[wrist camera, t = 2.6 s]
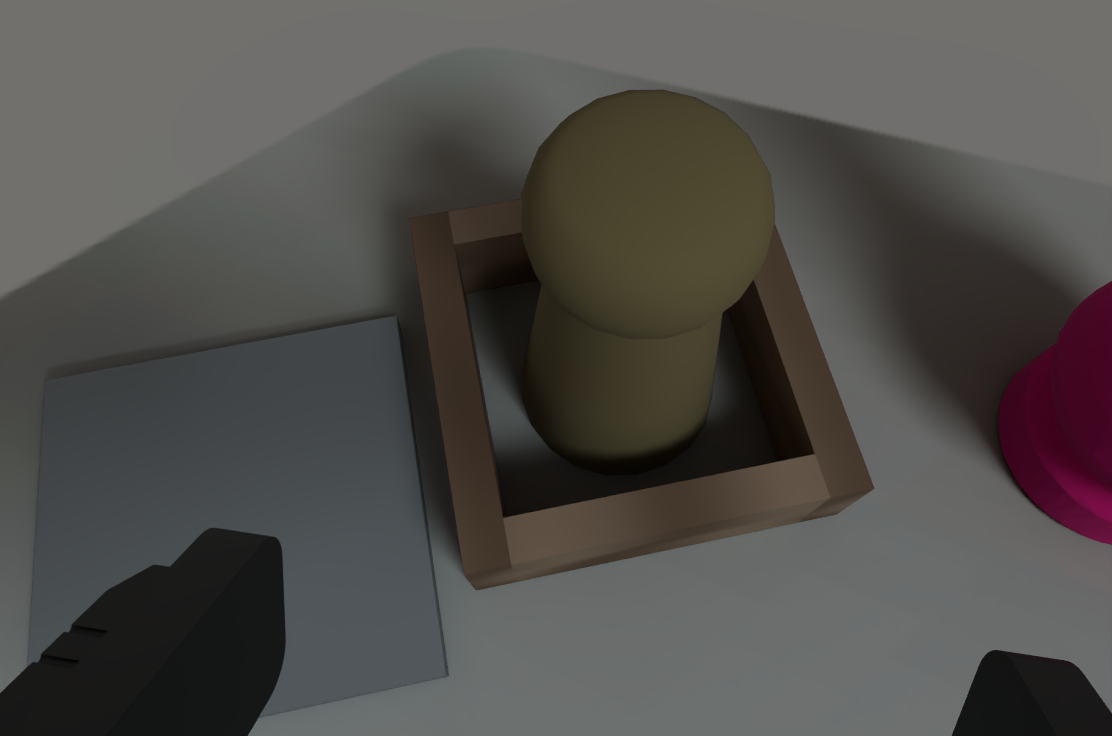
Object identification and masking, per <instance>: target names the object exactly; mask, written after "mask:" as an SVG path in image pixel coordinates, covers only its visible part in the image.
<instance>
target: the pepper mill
mask: <svg viewBox="0 0 1112 736" xmlns="http://www.w3.org/2000/svg"><path fill="white" fill-rule="evenodd" d="M998 429H999V436H1000V442H1001V447H1002V452H1003V455H1004V457H1005V460H1006V462H1007V464H1008V466H1009V468H1010V470H1011V472H1012V474H1013V476H1014V478H1015V479H1016V481H1017V482H1018V483H1019V485H1020V486H1021V487H1022V488H1023V490H1024V491H1025V492H1026V493H1027V495H1028V496H1029V497H1030V498H1031V500H1032V501H1033V502H1034V503H1035V504H1036V505H1037V506H1038V507H1040V508H1041V509H1042V510H1043V511H1044V512H1046V513H1047V514H1048V515H1050V516H1051V517H1052V518H1054V519H1055V520H1056V521H1058V522H1059V523H1060V524H1062V525H1063V526H1065V527H1067V528H1069V529H1071V530H1073V531H1075V532H1077V533H1079V534H1081V535H1083V536H1085V537H1087V538H1090V539H1093V540H1096V541H1099V542H1102V543H1107V544H1111V545H1112V281H1111V282H1109V283H1108V284H1106V285H1104V286H1103V287H1101V288H1099V289H1098V290H1096V291H1095V292H1094V293H1092V294H1091V295H1090V296H1089V297H1087V298H1086V299H1085V300H1084V301H1083V302H1082V303H1081V304H1080V305H1079V306H1078V307H1077V308H1076V309H1075V310H1074V311H1073V313H1072V315H1071V316H1070V318H1069V319H1068V321H1067V322H1066V324H1065V326H1064V327H1063V329H1062V330H1061V332H1060V334H1059V337H1058V340H1057V342H1056V344H1055V345H1053V346H1052V347H1050V348H1049V349H1048V350H1046V351H1045V352H1043V353H1042V354H1041V355H1039V356H1038V357H1036V358H1035V359H1034V360H1032V361H1031V362H1030V363H1028V364H1027V365H1025V366H1024V367H1023V368H1022V369H1021V370H1020V371H1019V372H1018V373H1017V374H1016V375H1015V376H1014V377H1013V379H1012V380H1011V382H1010V384H1009V385H1008V387H1007V388H1006V390H1005V392H1004V395H1003V398H1002V401H1001V404H1000V408H999V418H998Z"/></svg>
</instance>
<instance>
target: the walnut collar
mask: <svg viewBox="0 0 1112 736" xmlns="http://www.w3.org/2000/svg"><path fill="white" fill-rule="evenodd" d="M521 217H522V199H517V200H511V201H506V202H500V203H494V204H488V205H483V206H477V207H471V208H465V209H460V210H454V211H448V212H442V213H437V214H431V215H425V216H420V217H414V218H409V221H410V228H411V234H412V241H413V247H414V254H415V260H416V266H417V273H418V279H419V286H420V292H421V299H422V305H423V312H424V318H425V325H426V331H427V338H428V344H429V351H430V357H431V364H432V370H433V377H434V383H435V390H436V396H437V403H438V409H439V415H440V422H441V428H442V435H443V441H444V448H445V454H446V461H447V467H448V474H449V480H450V487H451V493H452V500H453V506H454V513H455V519H456V526H457V532H458V539H459V545H460V552H461V558H462V565H463V571H464V575H465V576H466V578H467V579H468V580H469V582H470V583H471V584H472V585H473V587H474V588H475V589H476V590H480V589H485V588H489V587H494V586H499V585H504V584H508V583H513V582H518V581H523V580H527V579H532V578H537V577H542V576H546V575H551V574H556V573H561V572H565V571H570V570H575V569H579V568H584V567H589V566H594V565H598V564H603V563H608V562H613V561H617V560H622V559H627V558H632V557H636V556H641V555H646V554H651V553H655V552H660V551H665V550H670V549H674V548H679V547H684V546H688V545H693V544H698V543H703V542H707V541H712V540H717V539H722V538H726V537H731V536H736V535H741V534H745V533H750V532H755V531H760V530H764V529H769V528H774V527H779V526H783V525H788V524H793V523H798V522H802V521H807V520H812V519H816V518H821V517H826V516H831V515H835V514H838V513H839V512H841V511H842V510H844V509H845V508H847V507H848V506H850V505H851V504H852V503H854V502H855V501H857V500H858V499H860V498H861V497H863V496H864V495H866V494H867V493H869V492H870V491H872V490H873V489H874V486H873V484H872V481H871V478H870V476H869V473H868V470H867V468H866V465H865V462H864V460H863V457H862V454H861V452H860V449H859V446H858V444H857V441H856V438H855V436H854V433H853V430H852V428H851V425H850V422H849V420H848V417H847V414H846V412H845V409H844V406H843V404H842V401H841V398H840V396H839V393H838V390H837V388H836V385H835V382H834V380H833V377H832V374H831V372H830V369H829V367H828V364H827V361H826V359H825V356H824V353H823V351H822V348H821V345H820V343H819V340H818V337H817V335H816V332H815V329H814V327H813V324H812V321H811V319H810V316H809V313H808V311H807V308H806V305H805V303H804V300H803V297H802V295H801V292H800V289H799V287H798V284H797V281H796V279H795V276H794V273H793V271H792V268H791V265H790V263H789V260H788V257H787V255H786V252H785V250H784V247H783V244H782V242H781V239H780V236H779V234H778V231H777V228H776V226H775V224H774V228H773V232H772V236H771V240H770V244H769V249H768V253H767V256H766V258H765V260H764V263H763V265H762V267H761V269H760V271H759V272H758V274H757V275H756V276H755V278H754V279H753V281H752V282H751V284H750V285H749V286H748V288H747V289H746V291H745V292H744V294H743V295H742V296H741V298H740V299H739V300H738V301H737V302H736V303H734V304H733V305H732V306H731V307H729V308H728V312H729V315H730V318H731V321H732V324H733V327H734V330H735V333H736V336H737V339H738V342H739V345H740V348H741V351H742V354H743V357H744V360H745V364H746V367H747V370H748V373H749V376H750V379H751V382H752V385H753V388H754V391H755V394H756V397H757V400H758V403H759V406H760V409H761V412H762V415H763V418H764V421H765V424H766V427H767V430H768V433H769V436H770V439H771V442H772V445H773V448H774V451H775V454H776V457H777V460H778V462H774V463H769V464H764V465H759V466H754V467H750V468H745V469H740V470H735V471H730V472H725V473H720V474H715V475H710V476H706V477H701V478H696V479H691V480H686V481H681V482H676V483H671V484H666V485H662V486H657V487H652V488H647V489H642V490H637V491H632V492H627V493H623V494H618V495H613V496H608V497H603V498H598V499H593V500H588V501H583V502H579V503H574V504H569V505H564V506H559V507H554V508H549V509H544V510H539V511H535V512H530V513H525V514H520V515H515V516H510V517H506V515H505V509H504V504H503V498H502V493H501V487H500V482H499V476H498V470H497V465H496V459H495V454H494V448H493V443H492V437H491V432H490V426H489V421H488V415H487V410H486V404H485V398H484V393H483V387H482V382H481V376H480V371H479V365H478V360H477V354H476V349H475V343H474V338H473V332H472V326H471V321H470V315H469V310H468V304H467V299H466V293H468V292H474V291H479V290H485V289H490V288H496V287H501V286H507V285H512V284H518V283H523V282H529V281H534V280H539V279H538V277H537V276H536V274H535V272H534V269H533V267H532V264H531V261H530V259H529V256H528V253H527V251H526V248H525V245H524V243H523V236H522V227H521Z"/></svg>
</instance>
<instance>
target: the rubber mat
mask: <svg viewBox="0 0 1112 736" xmlns="http://www.w3.org/2000/svg"><path fill="white" fill-rule="evenodd" d="M209 528H221V529H227V530H234V531H240V532H247V533H253V534H260V535H266V536H273V537H276V538H277V539H278V540H279V542H280V544H281V548H282V555H283V579H284V605H285V630H286V647H285V655H284V661H283V665H282V669H281V673H280V676H279V679H278V682H277V684H276V687H275V689H274V691H273V693H272V695H271V697H270V699H269V701H268V702H267V704H266V706H265V707H264V709H263V711H262V712H261V714H260V716H259V717H258V718H260V717H264V716H269V715H274V714H278V713H283V712H287V711H292V710H296V709H301V708H306V707H310V706H315V705H319V704H324V703H328V702H333V701H338V700H342V699H347V698H351V697H356V696H360V695H365V694H370V693H374V692H379V691H383V690H388V689H392V688H397V687H402V686H406V685H411V684H415V683H420V682H424V681H429V680H434V679H438V678H443V677H447V676H449V673H448V666H447V659H446V652H445V645H444V637H443V630H442V623H441V616H440V609H439V602H438V594H437V587H436V580H435V573H434V566H433V559H432V551H431V544H430V537H429V530H428V523H427V516H426V509H425V501H424V494H423V487H422V480H421V473H420V466H419V458H418V451H417V444H416V437H415V430H414V423H413V415H412V408H411V401H410V394H409V387H408V380H407V372H406V365H405V358H404V351H403V344H402V337H401V330H400V323H399V321H398V319H397V316H391V317H386V318H380V319H375V320H369V321H364V322H358V323H353V324H347V325H342V326H337V327H331V328H326V329H320V330H315V331H309V332H304V333H298V334H293V335H287V336H282V337H276V338H271V339H266V340H260V341H255V342H249V343H244V344H238V345H233V346H227V347H222V348H216V349H211V350H206V351H200V352H195V353H189V354H184V355H178V356H173V357H167V358H162V359H156V360H151V361H146V362H140V363H135V364H129V365H124V366H118V367H113V368H107V369H102V370H96V371H91V372H86V373H80V374H75V375H69V376H64V377H58V378H53V379H47V380H45V388H44V404H43V420H42V436H41V453H40V469H39V485H38V501H37V518H36V534H35V550H34V566H33V583H32V599H31V615H30V631H29V648H28V664H27V667H28V666H29V665H30V664H31V663H32V662H38V661H39V660H40V657H41V653H42V652H43V651H45V650H46V649H47V648H48V647H49V646H50V645H51V644H52V643H53V642H54V641H55V640H56V639H57V638H58V637H59V636H60V635H61V634H62V633H63V632H69V631H70V629H71V624H72V623H73V622H74V621H76V620H77V619H78V618H79V617H80V616H81V615H82V614H83V613H84V612H85V611H86V610H87V609H88V608H89V607H90V606H91V605H92V604H93V603H94V602H95V601H96V600H97V599H98V598H99V597H100V596H101V595H102V594H103V593H104V592H105V591H107V590H108V589H110V588H112V587H114V586H115V585H117V584H119V583H121V582H123V581H124V580H126V579H128V578H130V577H132V576H134V575H135V574H137V573H139V572H141V571H143V570H144V569H146V568H148V567H150V566H152V565H154V564H155V565H162V566H168V567H170V566H171V565H172V564H173V563H174V562H175V561H176V560H177V559H178V558H179V557H180V555H181V554H182V553H183V552H184V551H185V550H186V549H187V548H188V547H189V546H190V545H191V544H192V543H193V542H194V541H195V540H196V539H197V538H198V537H199V536H200V535H201V534H202V533H203V532H204V531H205V530H207V529H209Z"/></svg>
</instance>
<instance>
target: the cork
mask: <svg viewBox="0 0 1112 736" xmlns="http://www.w3.org/2000/svg"><path fill="white" fill-rule="evenodd" d="M774 224H775V204H774V197H773V190H772V183H771V176H770V173H769V171H768V169H767V167H766V166H765V164H764V162H763V160H762V158H761V156H760V155H759V153H758V151H757V149H756V147H755V145H754V144H753V142H752V141H751V139H750V137H749V136H748V134H747V133H746V132H745V131H744V130H742V129H741V128H740V127H739V126H738V125H737V124H736V123H735V122H734V121H733V120H732V119H731V118H730V117H729V116H728V115H727V114H726V113H724V112H722V111H720V110H719V109H717V108H715V107H713V106H711V105H709V104H707V103H705V102H703V101H701V100H699V99H698V98H696V97H692V96H687V95H683V94H679V93H674V92H670V91H666V90H628V91H624V92H620V93H617V94H613V95H609V96H606V97H602V98H598V99H596V100H594V101H593V102H591V103H589V104H588V105H586V106H584V107H583V108H581V109H579V110H578V111H576V112H574V113H572V114H571V115H570V116H568V117H567V118H566V119H565V120H564V121H562V122H561V123H560V124H559V125H558V127H557V128H556V129H555V130H554V131H553V132H552V133H551V134H550V136H549V137H548V138H547V139H546V140H545V141H544V142H543V143H542V145H541V146H540V147H539V148H538V151H537V153H536V156H535V158H534V161H533V163H532V166H531V168H530V171H529V173H528V176H527V178H526V181H525V184H524V188H523V191H522V217H521V227H522V236H523V243H524V245H525V248H526V251H527V253H528V256H529V259H530V261H531V264H532V267H533V269H534V272H535V274H536V276H537V277H538V279H539V281H540V282H541V289H540V294H539V298H538V303H537V307H536V312H535V317H534V321H533V326H532V331H531V335H530V340H529V345H528V349H527V354H526V358H525V363H524V368H523V401H524V404H525V407H526V410H527V413H528V415H529V418H530V421H531V424H532V426H533V427H534V429H535V430H536V431H537V433H538V434H539V435H540V436H541V438H542V439H543V440H544V442H545V443H546V444H547V445H548V447H549V448H550V449H551V450H553V451H554V452H556V453H557V454H559V455H560V456H562V457H563V458H564V459H566V460H567V461H569V462H570V463H572V464H573V465H575V466H578V467H581V468H584V469H587V470H591V471H594V472H597V473H601V474H604V475H631V474H639V473H642V472H645V471H648V470H651V469H654V468H657V467H660V466H663V465H666V464H667V463H668V462H670V461H671V460H672V459H674V458H675V457H676V456H678V455H679V454H680V453H682V452H683V451H684V450H686V449H687V448H688V447H689V446H690V445H691V443H692V442H693V440H694V439H695V437H696V436H697V434H698V433H699V431H700V430H701V429H702V427H703V426H704V424H705V422H706V418H707V414H708V410H709V406H710V402H711V398H712V391H713V384H714V376H715V368H716V360H717V352H718V345H719V337H720V329H721V321H722V313H723V312H724V311H725V310H727V309H728V308H729V307H731V306H732V305H733V304H734V303H736V302H737V301H738V300H739V299H740V298H741V296H742V295H743V294H744V292H745V291H746V289H747V288H748V286H749V285H750V284H751V282H752V281H753V279H754V278H755V276H756V275H757V274H758V272H759V271H760V269H761V267H762V265H763V263H764V260H765V258H766V256H767V253H768V249H769V244H770V240H771V236H772V232H773V228H774Z"/></svg>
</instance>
